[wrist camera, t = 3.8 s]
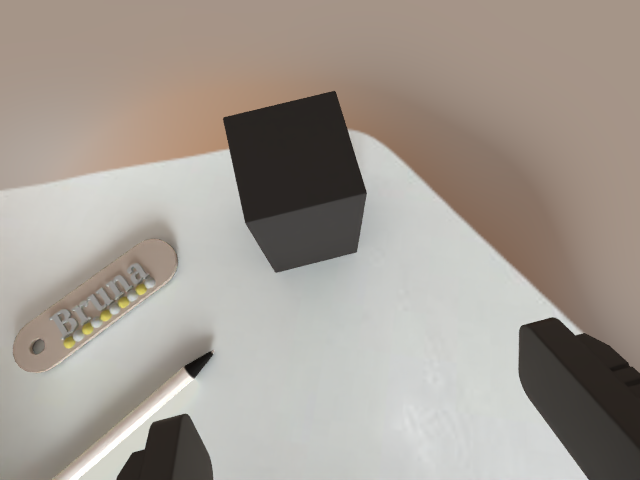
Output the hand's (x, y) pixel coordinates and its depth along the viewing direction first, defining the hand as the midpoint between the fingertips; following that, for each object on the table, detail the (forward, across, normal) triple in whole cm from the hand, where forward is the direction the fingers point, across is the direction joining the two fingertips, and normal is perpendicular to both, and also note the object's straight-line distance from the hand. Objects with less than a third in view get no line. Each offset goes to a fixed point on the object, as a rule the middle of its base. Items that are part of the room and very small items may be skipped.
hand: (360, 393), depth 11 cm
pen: (+10, +15, +11) cm, 21 cm away
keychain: (+16, +13, +5) cm, 21 cm away
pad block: (+17, 0, +3) cm, 17 cm away
